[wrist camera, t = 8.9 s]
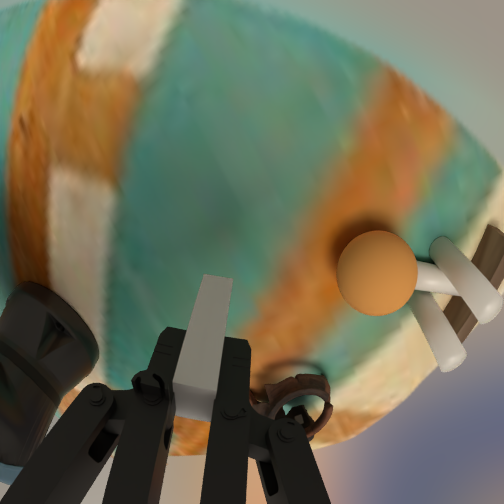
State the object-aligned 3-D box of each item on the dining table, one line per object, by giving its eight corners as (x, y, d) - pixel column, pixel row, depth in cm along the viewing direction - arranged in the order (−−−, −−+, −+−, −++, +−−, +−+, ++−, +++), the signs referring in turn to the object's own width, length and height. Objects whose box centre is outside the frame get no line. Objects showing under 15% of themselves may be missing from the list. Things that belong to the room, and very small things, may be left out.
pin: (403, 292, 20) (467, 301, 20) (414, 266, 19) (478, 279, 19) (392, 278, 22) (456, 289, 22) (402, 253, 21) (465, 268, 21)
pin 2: (401, 303, 23) (435, 372, 16) (413, 282, 22) (452, 351, 15) (420, 305, 23) (454, 371, 16) (431, 285, 22) (471, 350, 15)
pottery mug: (227, 377, 31) (240, 416, 23) (294, 336, 32) (325, 363, 24) (273, 433, 32) (292, 471, 24) (330, 397, 34) (360, 428, 26)
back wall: (431, 329, 25) (443, 352, 22) (488, 224, 18) (509, 241, 15) (443, 330, 25) (455, 352, 22) (498, 229, 18) (519, 246, 15)
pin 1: (425, 258, 21) (473, 323, 13) (435, 233, 19) (491, 294, 12) (443, 262, 21) (490, 324, 13) (453, 239, 20) (508, 297, 12)
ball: (406, 308, 20) (346, 280, 23) (432, 240, 17) (364, 214, 21) (388, 345, 16) (312, 306, 19) (424, 261, 13) (334, 225, 16)
